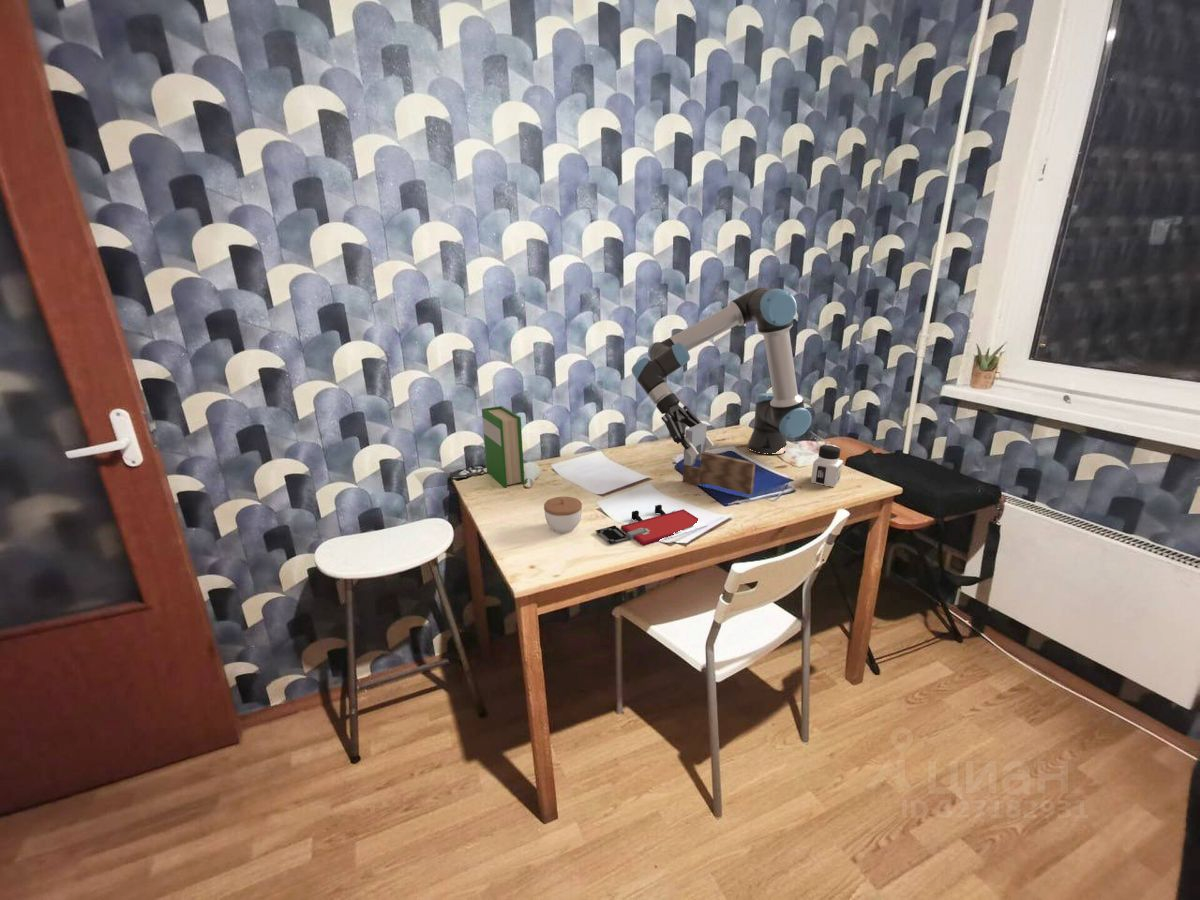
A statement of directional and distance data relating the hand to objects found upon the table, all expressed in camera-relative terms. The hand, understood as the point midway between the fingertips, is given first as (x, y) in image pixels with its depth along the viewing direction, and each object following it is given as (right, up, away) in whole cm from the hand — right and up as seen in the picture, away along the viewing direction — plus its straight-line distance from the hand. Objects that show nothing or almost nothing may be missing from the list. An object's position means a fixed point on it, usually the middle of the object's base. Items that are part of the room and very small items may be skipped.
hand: (703, 451), depth 177 cm
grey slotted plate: (-2, -3, +3) cm, 5 cm away
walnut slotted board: (+5, -13, +1) cm, 14 cm away
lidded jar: (-45, -22, -24) cm, 55 cm away
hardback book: (-68, -10, +13) cm, 70 cm away
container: (+43, -11, +7) cm, 45 cm away
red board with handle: (-20, -23, -24) cm, 38 cm away
